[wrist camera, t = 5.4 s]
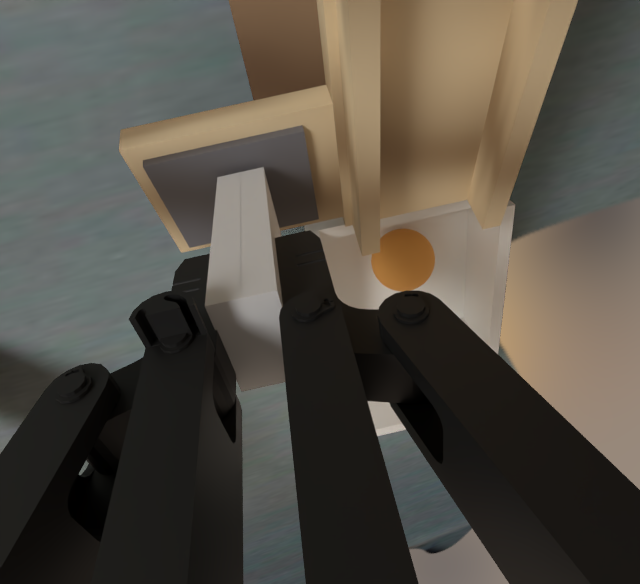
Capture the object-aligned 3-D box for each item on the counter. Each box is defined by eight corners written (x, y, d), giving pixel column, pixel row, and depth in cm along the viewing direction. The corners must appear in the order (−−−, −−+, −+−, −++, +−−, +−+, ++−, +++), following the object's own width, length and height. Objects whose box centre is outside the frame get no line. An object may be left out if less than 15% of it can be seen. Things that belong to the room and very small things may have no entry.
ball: (387, 272, 26) (379, 219, 24) (443, 274, 24) (439, 218, 23) (366, 300, 23) (357, 244, 22) (428, 305, 22) (422, 244, 20)
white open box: (300, 208, 23) (319, 292, 17) (477, 169, 23) (553, 239, 17) (330, 348, 29) (351, 441, 23) (469, 317, 29) (522, 403, 24)
